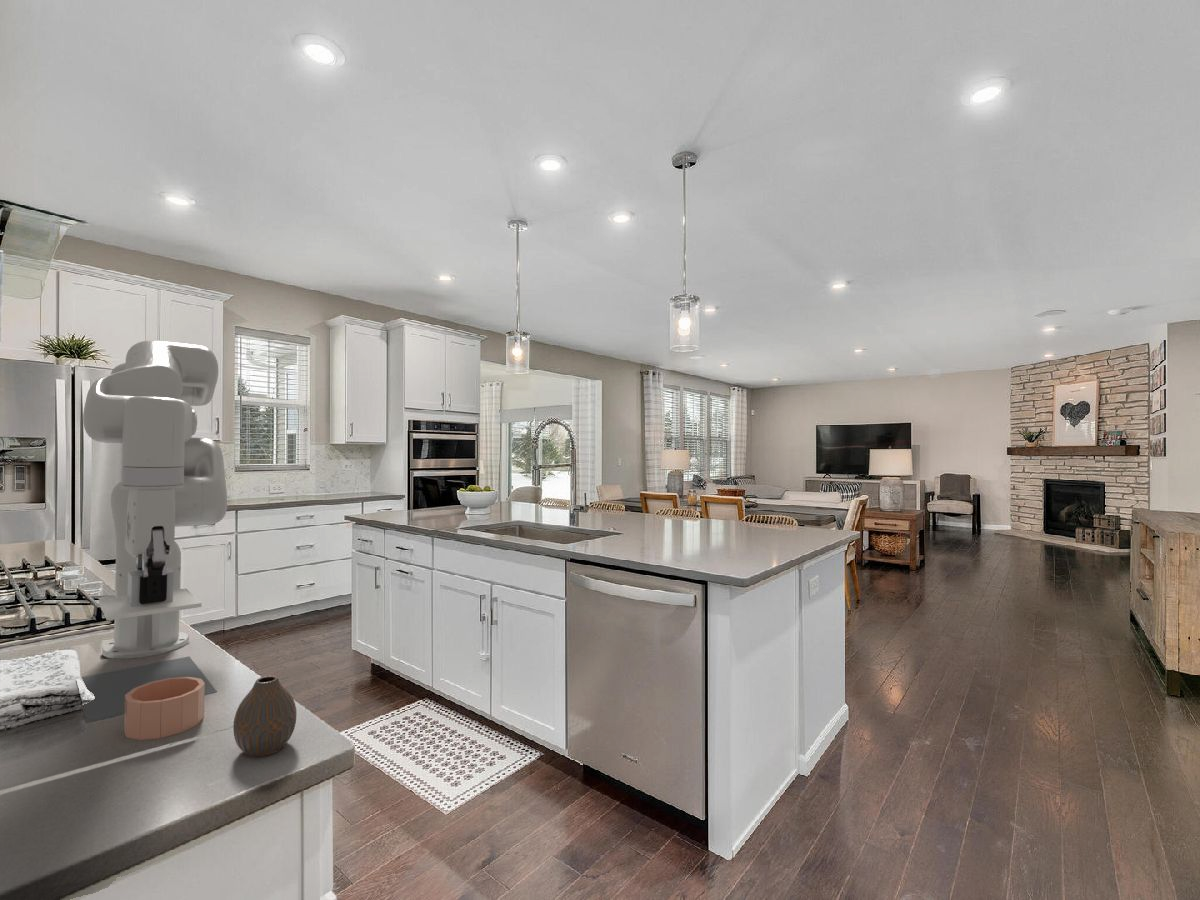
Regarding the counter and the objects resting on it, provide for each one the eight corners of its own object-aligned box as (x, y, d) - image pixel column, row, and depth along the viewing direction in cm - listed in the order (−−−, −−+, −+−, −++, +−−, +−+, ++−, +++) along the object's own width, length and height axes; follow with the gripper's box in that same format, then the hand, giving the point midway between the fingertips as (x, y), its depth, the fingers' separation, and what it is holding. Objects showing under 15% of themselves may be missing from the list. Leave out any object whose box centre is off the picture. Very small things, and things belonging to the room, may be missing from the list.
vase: (267, 766, 70) (269, 693, 70) (218, 759, 71) (220, 687, 71) (307, 738, 76) (309, 671, 76) (262, 732, 78) (263, 666, 78)
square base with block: (98, 603, 89) (99, 569, 89) (186, 592, 97) (187, 561, 96) (107, 620, 81) (108, 583, 81) (201, 606, 89) (202, 573, 89)
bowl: (120, 725, 79) (121, 688, 79) (195, 706, 85) (196, 672, 85) (129, 749, 73) (130, 708, 73) (209, 727, 79) (210, 690, 79)
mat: (75, 680, 92) (75, 678, 92) (189, 658, 103) (189, 656, 103) (86, 725, 78) (86, 722, 78) (217, 694, 89) (217, 691, 89)
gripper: (114, 475, 92) (111, 591, 92) (129, 483, 80) (126, 616, 80) (172, 474, 97) (170, 584, 97) (195, 481, 85) (191, 607, 86)
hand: (150, 597), depth 89 cm, fingers closed on square base with block, 4 cm apart
